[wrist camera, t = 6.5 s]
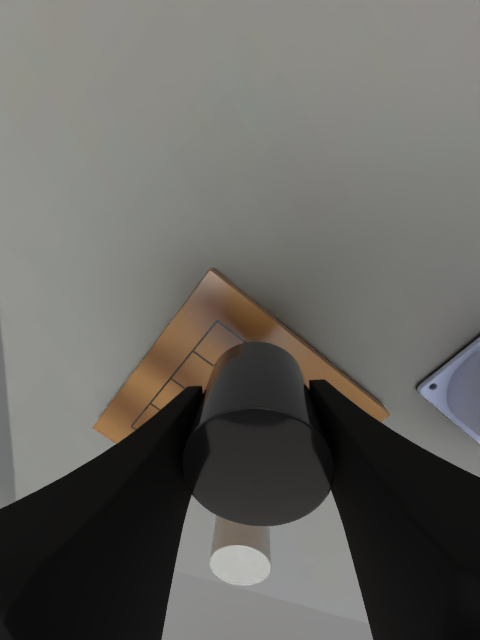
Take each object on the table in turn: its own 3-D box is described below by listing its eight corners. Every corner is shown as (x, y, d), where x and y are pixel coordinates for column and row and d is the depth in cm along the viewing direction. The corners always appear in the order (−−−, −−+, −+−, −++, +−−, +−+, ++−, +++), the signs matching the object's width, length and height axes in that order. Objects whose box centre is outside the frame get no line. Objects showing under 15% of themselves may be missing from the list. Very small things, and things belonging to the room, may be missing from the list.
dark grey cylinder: (250, 321, 10) (246, 376, 6) (324, 380, 11) (370, 471, 6) (192, 387, 11) (151, 475, 7) (261, 437, 12) (264, 547, 8)
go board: (212, 267, 17) (209, 269, 15) (382, 404, 19) (390, 414, 18) (100, 418, 21) (91, 428, 20) (247, 514, 23) (247, 528, 22)
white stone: (239, 473, 20) (234, 536, 16) (278, 500, 21) (283, 566, 16) (209, 500, 21) (197, 565, 17) (247, 524, 22) (244, 593, 18)
